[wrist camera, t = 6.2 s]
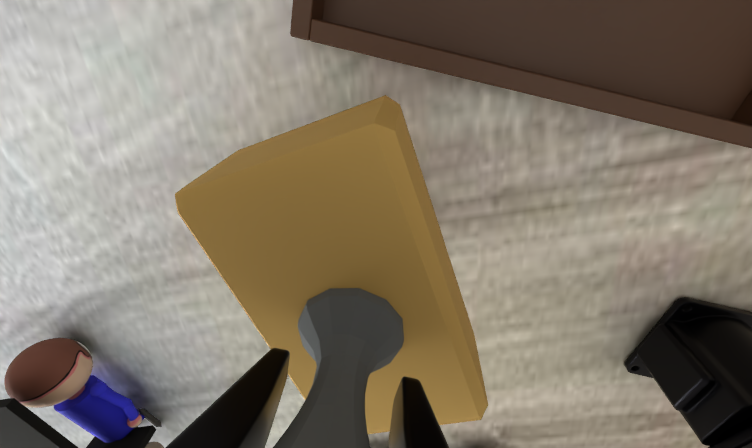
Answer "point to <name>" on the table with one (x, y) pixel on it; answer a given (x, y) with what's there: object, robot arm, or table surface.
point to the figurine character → (67, 401)
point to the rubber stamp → (342, 271)
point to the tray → (568, 51)
